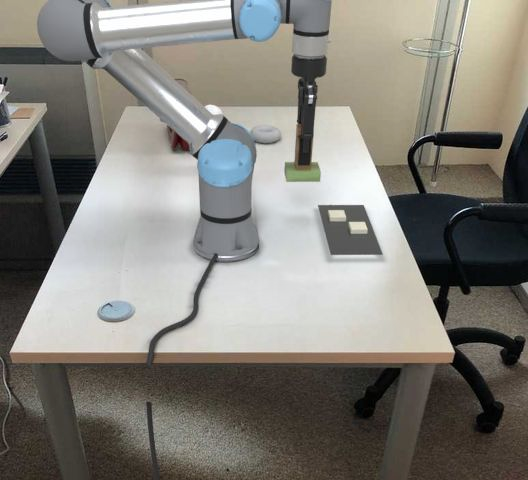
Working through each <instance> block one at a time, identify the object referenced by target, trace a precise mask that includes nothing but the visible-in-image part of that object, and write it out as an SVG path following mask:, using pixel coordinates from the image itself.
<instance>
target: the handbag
mask: <svg viewBox="0 0 528 480" xmlns="http://www.w3.org/2000/svg"><path fill="white" fill-rule="evenodd" d="M173 79H174V80H176V81H177V82H178V83H179V84H180V85H181V86H182V87H183V88H184V89H185V90H186V91H188V92H189V93H190V94H191V95H192V96H193V94H192V92H191V91H192V90H191V89H190V87H189V84H188V82H187V81H186V80H185V79H184V78H173ZM166 128H167V133H168V137H169V141H170V147H171V149H172V151H175V150H176V149H177V147H178V146H180V149H181V150H182V151H190V147H189V144H188V143H187V142H186V141H185V140H184V139H183V138H182V137H181V136H179V135H178V134H177V133H176V132H175V131H174V130H173V129H171V128H170V127H169V126H168V125H167V124H166Z"/></svg>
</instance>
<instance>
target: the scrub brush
mask: <svg viewBox="0 0 528 480" xmlns="http://www.w3.org/2000/svg"><path fill="white" fill-rule="evenodd" d="M295 127H296V129H295V145H294V161H284V170H283V171H284V176H285V182H287V183H319V182H321V178H322V177H321V175H322V171H321V168H320V165H319V161H312V160H313V146H314V137H313V138H312V142H311V156H310V165H298V155H299V138H297V135H300V134H301V124H298V123H296V126H295ZM314 133H315V132H314ZM314 133H313V134H314ZM314 135H315V134H314Z"/></svg>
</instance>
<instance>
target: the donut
mask: <svg viewBox="0 0 528 480" xmlns="http://www.w3.org/2000/svg"><path fill="white" fill-rule="evenodd" d="M249 132H250V133H251V135H252V137H253V139H254V141H255V143H260V144H272V143H276V142H278V141H279V140H280V139H281V137H282V132H281V130H280V129H279V128H278V127H277V126H274V125H268V124H262V125H261V124H260V125H256V126H253V128H252V129H251V130H250V131H249Z"/></svg>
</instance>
